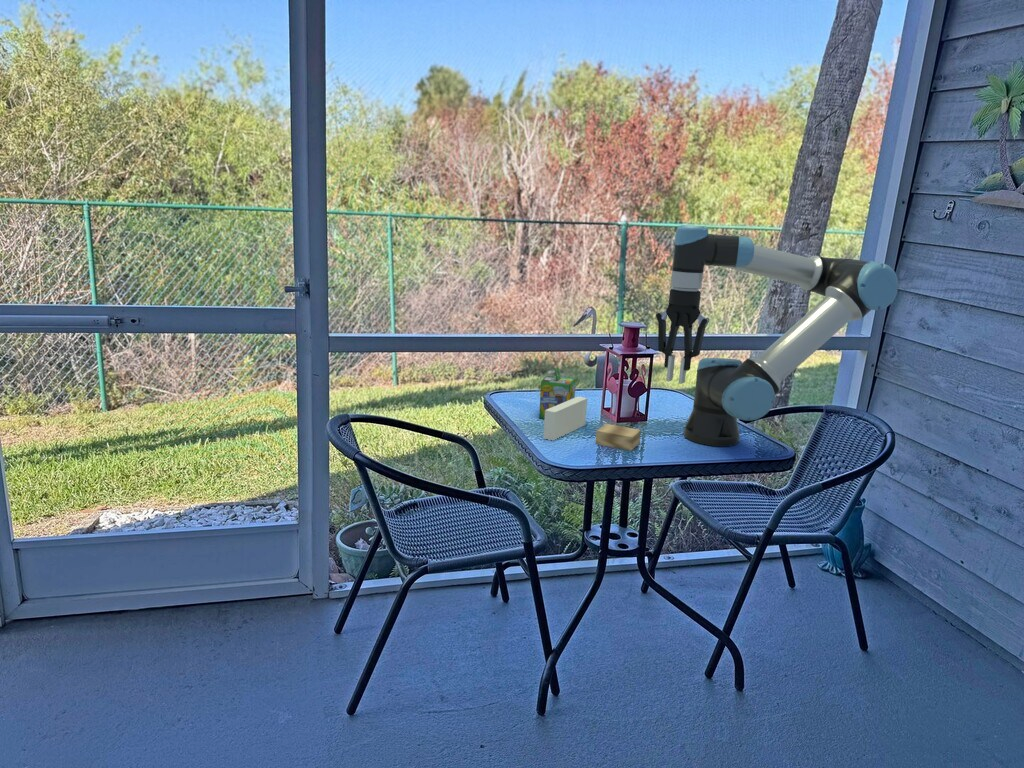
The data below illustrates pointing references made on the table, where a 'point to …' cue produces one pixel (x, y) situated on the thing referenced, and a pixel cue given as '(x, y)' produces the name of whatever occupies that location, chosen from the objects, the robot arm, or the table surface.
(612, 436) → the oak block
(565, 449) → the table surface
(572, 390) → the chalk box
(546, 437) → the white board
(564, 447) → the table surface
